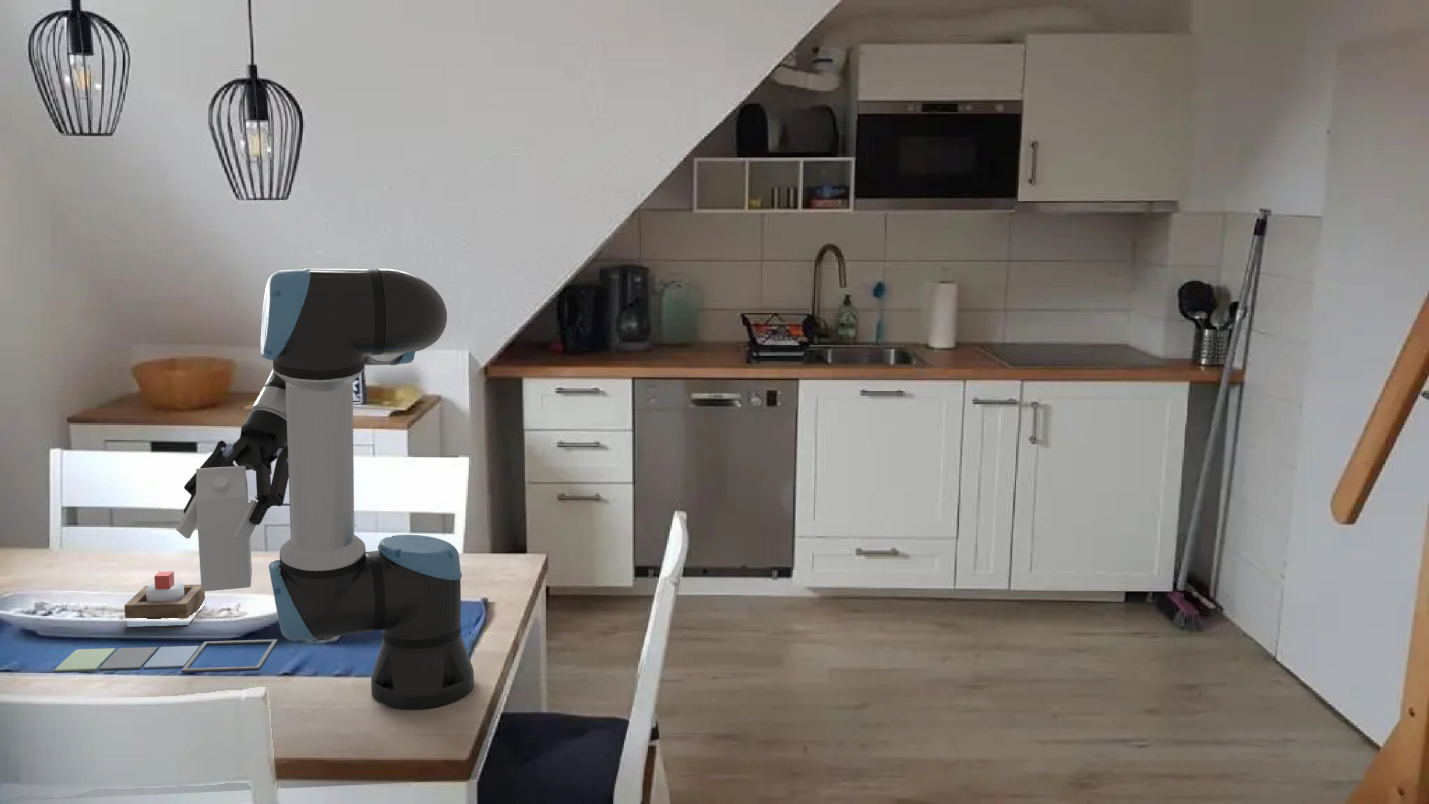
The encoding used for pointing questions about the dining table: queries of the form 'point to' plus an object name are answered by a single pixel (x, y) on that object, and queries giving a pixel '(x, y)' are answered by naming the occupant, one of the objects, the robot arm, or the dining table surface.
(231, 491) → the milk carton
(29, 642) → the dining table surface
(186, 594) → the wooden square tray
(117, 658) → the track
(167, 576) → the red white stacked block
